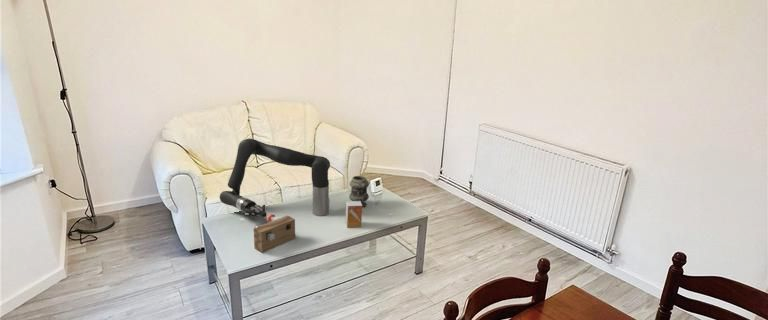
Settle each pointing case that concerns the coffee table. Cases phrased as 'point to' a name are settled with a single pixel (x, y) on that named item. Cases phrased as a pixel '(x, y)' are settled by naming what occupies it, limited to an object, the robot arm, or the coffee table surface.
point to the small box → (353, 214)
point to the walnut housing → (277, 228)
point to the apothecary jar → (359, 189)
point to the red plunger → (272, 218)
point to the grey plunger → (268, 234)
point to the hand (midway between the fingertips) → (265, 215)
